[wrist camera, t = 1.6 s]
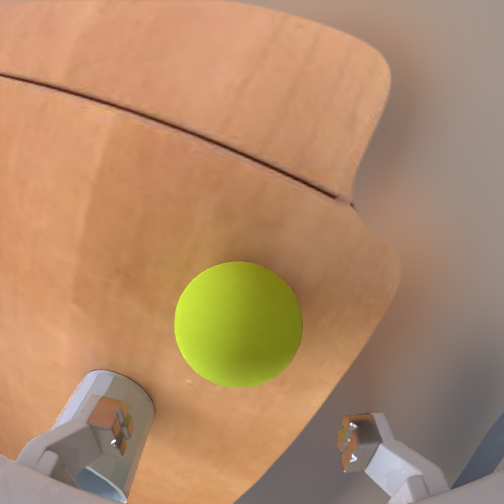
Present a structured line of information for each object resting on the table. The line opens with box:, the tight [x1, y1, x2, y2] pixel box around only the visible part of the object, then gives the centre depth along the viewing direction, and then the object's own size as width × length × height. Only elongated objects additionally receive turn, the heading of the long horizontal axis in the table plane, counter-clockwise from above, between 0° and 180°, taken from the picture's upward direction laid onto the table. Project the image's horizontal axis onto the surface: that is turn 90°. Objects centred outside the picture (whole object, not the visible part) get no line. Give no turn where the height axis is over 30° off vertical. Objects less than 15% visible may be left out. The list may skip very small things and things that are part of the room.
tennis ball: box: [174, 261, 303, 388], centre depth 16 cm, size 7×7×7 cm
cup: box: [50, 370, 155, 503], centre depth 18 cm, size 7×7×9 cm
